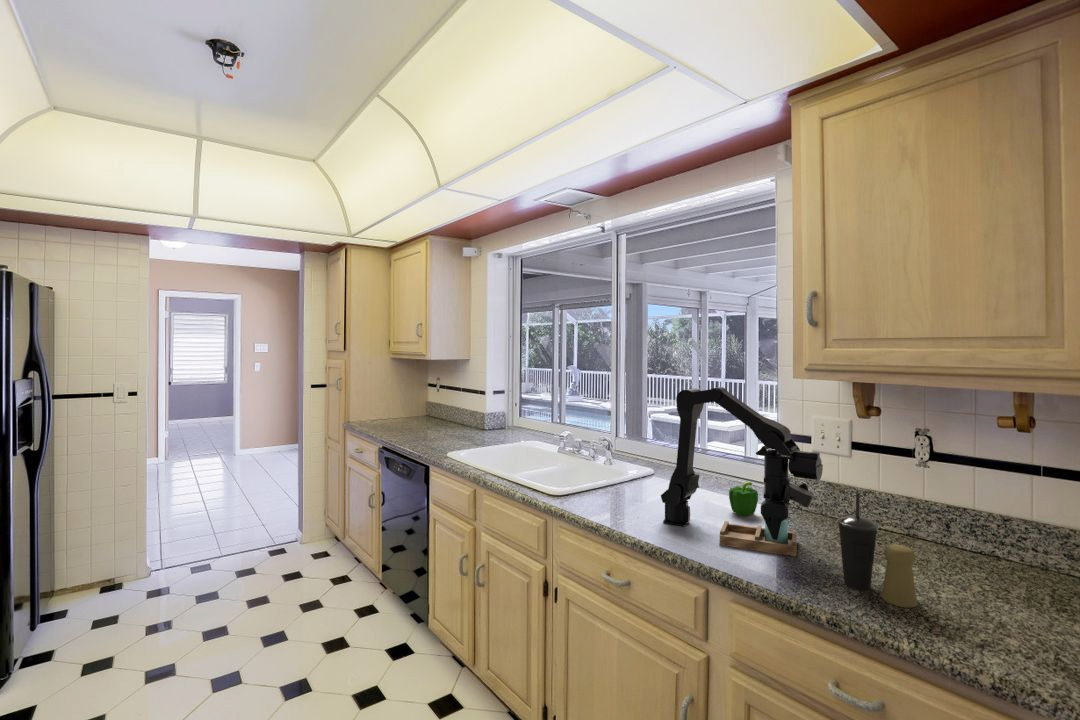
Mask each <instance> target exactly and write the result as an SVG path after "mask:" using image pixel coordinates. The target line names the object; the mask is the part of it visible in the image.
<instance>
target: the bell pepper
mask: <svg viewBox="0 0 1080 720" xmlns="http://www.w3.org/2000/svg"><path fill="white" fill-rule="evenodd" d="M752 485H753V482H751V481H747V482H745V483H743V484H742V487H741V486H738V485H736V486H734V487H730V489H729V491H728V498H729V499H728V500H729V503H730V507H731V510H732V512H733V514H736V515H737V516H741V517H750V516H751V515H754V514H755V512H756V510H757V506H758V502H759V492H758V490H756V489H754V488H753V487H752ZM747 486H749V487H747ZM750 486H751V487H750Z"/></svg>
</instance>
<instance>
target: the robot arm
mask: <svg viewBox="0 0 1080 720" xmlns="http://www.w3.org/2000/svg"><path fill="white" fill-rule="evenodd" d="M675 402H676V411H677V414H678V416H679V420H680V421H679V428H678V429H679V431H678V443H677V453H676V454H677V456H676V465H675V466H676V467H674V468H675V469H674V470H673V472H672V474H671V476H670V479H669V480H670V481H669V483H668V489H666V490H665V491H664V492H662V494H661V495H660V498H661V501H662V503H664V519H663V520H662V523H664V524H670V525H676V526H682V527H684V526H685V527H686V526H687V525H688V523H689V522H690V521H691V506H689V500H691V499H692V498H691V497H692V496H693V495H694V494H695V493H696V492H697V489H698V488H700V485H699V479H700V474H697V473H695V470H694V459H695V458H694V457H695V449H696V436H697V435H696V434H697V427H698V425H697V424H698V419H699V417H700V416H701V413H702V411H703V409H704V404H708V403H713V402H714V403H716V404H717V405H719V406H720V407H722V408H723V409H724V410H725V411H726V412H728V413H730V414H731V415H732V416H733V417H735V418H736V419H738V420H739V422H741V423H743V424H744V425H745V426H747V427H748V428H749V429H750V430H751V431H752V432H753V433H754V435H755V437H756V439H758V441H760V442H761V444H763V446H761V448H760V449H759V450H757V451H756V452H755V455H756V456H761V457H764V459H763V463H764V466H763V469H764V471H763V472H764V475H763V499H764V500H763V501H762V502H761V505H760V514H761V517H762V518H763V520H764V524H765V523H766V525H767V527H768V529H769V532H770V534H771V536H772V539H774V540H777V539H778V535H779V530H780V526H781V522H782V521H783V520H785V519H786V520H788V518H789V509H790V506H789V505H790V502H791V501H793V502H795V503H797V504H799V505H801V506H802V507H805V508H807V509H808V508H809V507H810V505H811V504H812V500H813V499H814V493H813V491H812V490H809V485H808V484H807V483H805V482H801V483H799V484H798V485H797V484H793V483H791V479H790V477H789V474H791V475H792V476H793V477H794V478H800V479H808V480H813V481H818V482H819V481H820V480H821V478H822V475H823V469H824V468H823V467H824V465H823V464H822V458H821V454H820V452H817V451H803V450H801V448H799V446H798V445H797V443H796V442H795V440H794V439H793V438H792V433H791V432H792V431H791V430H790V429H789V428H788V427H787V426H786V425H783V424H782V423H780V422H778V421H776V420H773V419H771V418H768V417H765V416H764V415H762V414H760V413H758V411H756V410H754V409H753V408H752V407H751V406H749V405H747V404H746V403H745V402H744V401H742V400H741V399H739V398H737V397H736V396H735V395H733V394H732V393H731V392H729V391H728V390H727V389H726V387H723V386H722V387H721V386H718V387H717V386H716V387H712V388H711V389H710V388H709V389H703V390H701V389H699V388H688V389H682V390H681V391H679V392H678V393H677V395H676V398H675ZM790 500H791V501H790Z"/></svg>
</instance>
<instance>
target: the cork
mask: <svg viewBox="0 0 1080 720" xmlns="http://www.w3.org/2000/svg"><path fill="white" fill-rule="evenodd" d="M883 554H884V558H885V560H886V561H887V562H886V566H885V567H886V568H885V573H884V579H883V585H882V591H881V598H882V600H884V601H885V602H886V603H888V604H890V605H894V606H897V607H901V608H911V609H912V608H917V606H918V599H917V592H916V586H915V585H916V584H915V579H914V572H913V565H914V564H915V561H916V554H915V552H914V550H913V549H912V548H910V547H908V546H906V545H901V544H894V543H893V544H888V545H886V546H885V547H884V551H883Z"/></svg>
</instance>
